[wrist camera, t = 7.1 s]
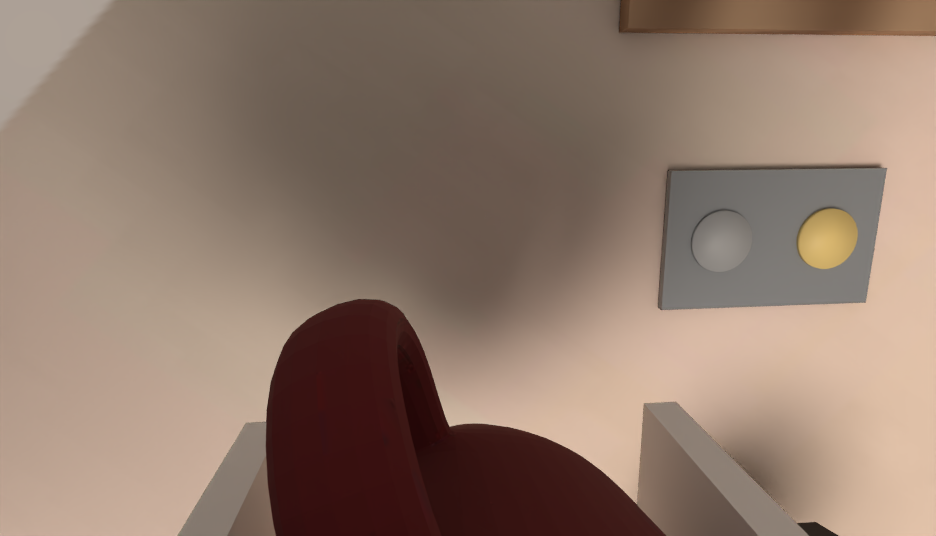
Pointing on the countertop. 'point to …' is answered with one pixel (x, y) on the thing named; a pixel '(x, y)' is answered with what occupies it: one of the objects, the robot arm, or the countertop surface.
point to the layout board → (780, 17)
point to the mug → (412, 448)
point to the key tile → (769, 237)
